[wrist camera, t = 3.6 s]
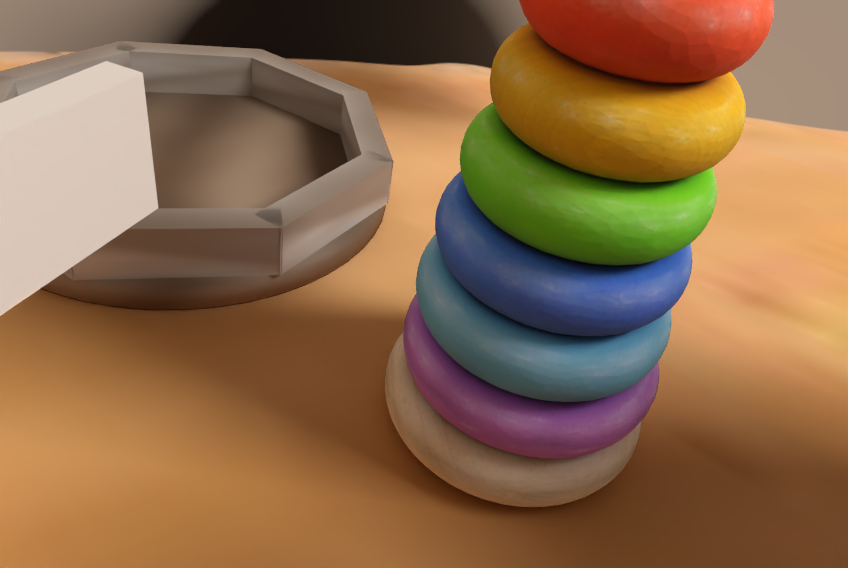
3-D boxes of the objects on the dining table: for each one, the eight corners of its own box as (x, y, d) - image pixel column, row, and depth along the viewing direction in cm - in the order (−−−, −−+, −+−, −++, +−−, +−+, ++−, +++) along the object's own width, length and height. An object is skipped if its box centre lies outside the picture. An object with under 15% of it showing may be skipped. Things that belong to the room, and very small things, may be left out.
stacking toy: (348, 348, 23) (429, -444, 12) (547, 312, 26) (766, -344, 15) (442, 556, 18) (766, -547, 6) (680, 479, 21) (1191, -353, 9)
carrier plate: (356, 104, 38) (360, 51, 37) (422, 300, 26) (434, 234, 24) (16, 91, 34) (1, 30, 32) (-108, 320, 21) (-142, 241, 19)
